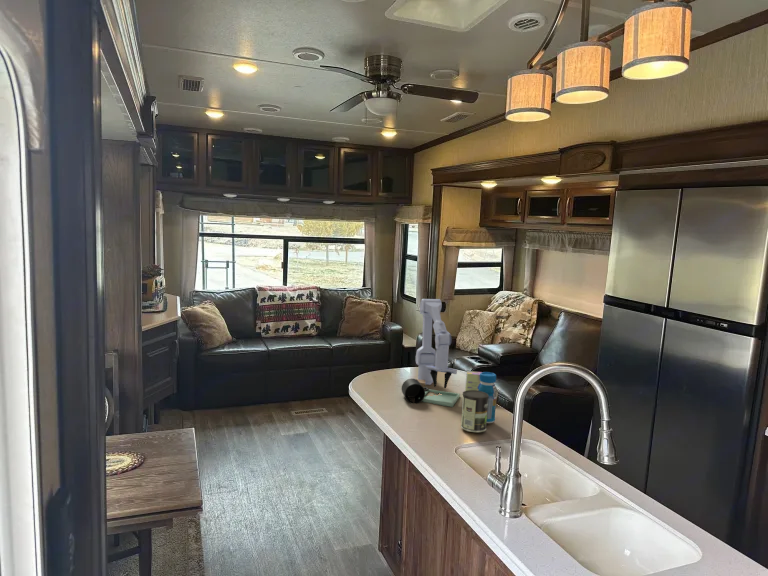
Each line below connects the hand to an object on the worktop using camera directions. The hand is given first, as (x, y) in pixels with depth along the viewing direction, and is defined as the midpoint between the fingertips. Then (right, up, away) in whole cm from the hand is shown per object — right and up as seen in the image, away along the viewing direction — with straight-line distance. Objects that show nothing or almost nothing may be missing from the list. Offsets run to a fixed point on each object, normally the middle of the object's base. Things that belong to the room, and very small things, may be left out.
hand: (440, 387), depth 241 cm
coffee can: (+10, -10, -33) cm, 36 cm away
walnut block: (-9, -2, +11) cm, 14 cm away
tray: (0, -6, +1) cm, 6 cm away
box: (+18, -7, +8) cm, 21 cm away
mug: (-12, -1, +1) cm, 12 cm away
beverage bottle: (+16, -10, -24) cm, 31 cm away
